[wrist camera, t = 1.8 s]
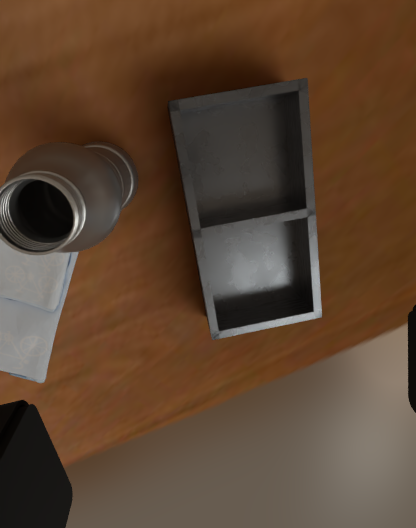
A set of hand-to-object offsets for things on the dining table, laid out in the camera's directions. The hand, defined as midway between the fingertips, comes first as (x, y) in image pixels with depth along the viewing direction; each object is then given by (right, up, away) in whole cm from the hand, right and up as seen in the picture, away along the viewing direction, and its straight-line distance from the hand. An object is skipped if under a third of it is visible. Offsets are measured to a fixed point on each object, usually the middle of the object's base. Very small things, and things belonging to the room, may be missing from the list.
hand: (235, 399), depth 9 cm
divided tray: (+3, +9, +28) cm, 30 cm away
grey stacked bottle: (-11, +12, +26) cm, 30 cm away
